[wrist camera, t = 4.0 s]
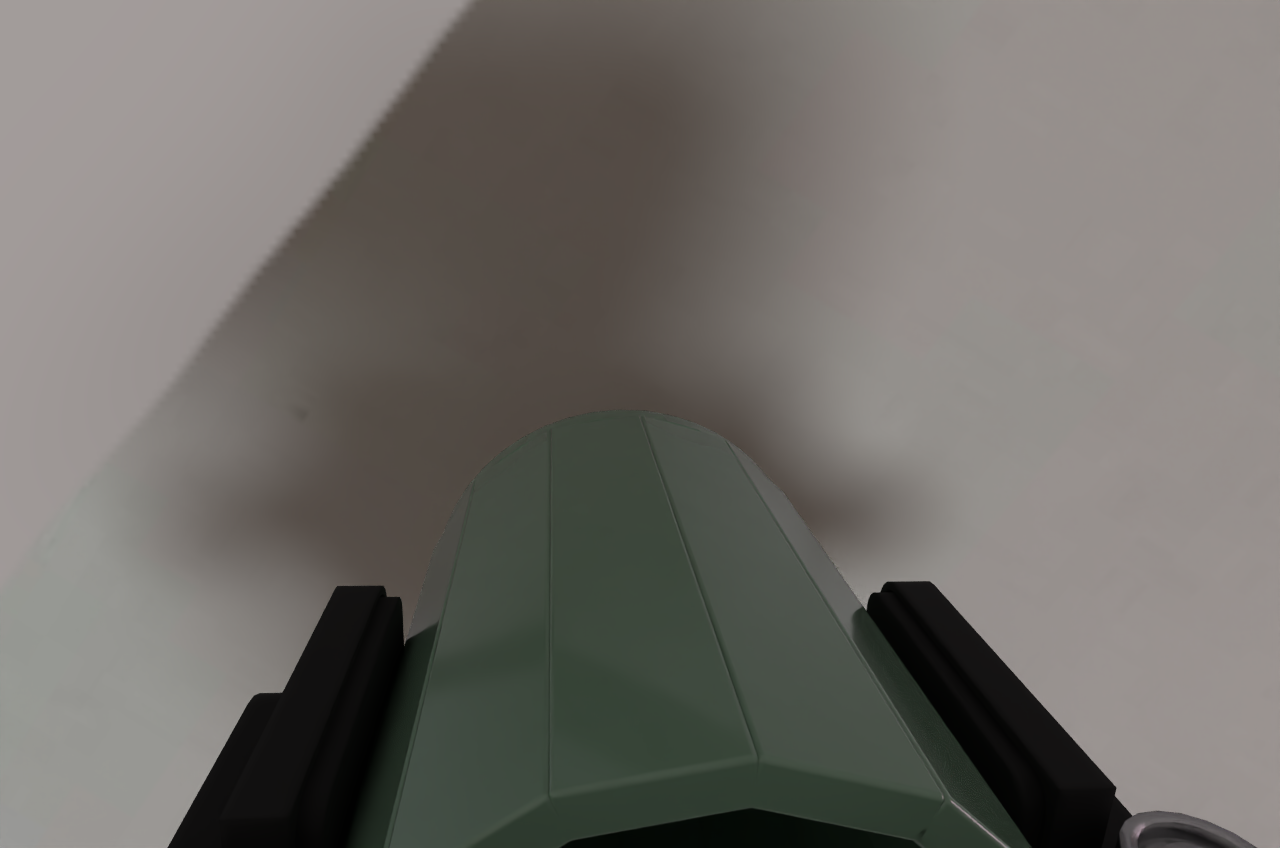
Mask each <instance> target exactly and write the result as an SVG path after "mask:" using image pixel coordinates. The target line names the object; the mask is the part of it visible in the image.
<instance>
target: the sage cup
mask: <svg viewBox="0 0 1280 848" xmlns="http://www.w3.org/2000/svg"><path fill="white" fill-rule="evenodd" d="M343 848H1032V847H1031V846H1030V845H1029V843H1028V842H1027V840H1026V839H1025V837H1024V836H1023V835H1022V833H1021V832H1020V830H1019V829H1018V827H1017V826H1016V825H1015V823H1014V822H1013V820H1012V819H1011V817H1010V816H1009V815H1008V813H1007V812H1006V810H1005V809H1004V807H1003V806H1002V804H1001V803H1000V802H999V800H998V799H997V797H996V796H995V794H994V793H993V792H992V790H991V789H990V787H989V786H988V784H987V783H986V782H985V780H984V779H983V777H982V776H981V774H980V773H979V772H978V770H977V769H976V767H975V766H974V764H973V763H972V762H971V760H970V759H969V757H968V756H967V754H966V753H965V751H964V750H963V749H962V747H961V746H960V744H959V743H958V741H957V740H956V739H955V737H954V736H953V734H952V733H951V731H950V730H949V729H948V727H947V726H946V724H945V723H944V721H943V720H942V719H941V717H940V716H939V714H938V713H937V711H936V710H935V709H934V707H933V706H932V704H931V703H930V701H929V700H928V698H927V697H926V696H925V694H924V693H923V691H922V690H921V688H920V687H919V686H918V684H917V683H916V681H915V680H914V678H913V677H912V676H911V674H910V673H909V671H908V670H907V668H906V667H905V666H904V664H903V663H902V661H901V660H900V658H899V657H898V656H897V654H896V653H895V651H894V650H893V648H892V647H891V645H890V644H889V643H888V641H887V640H886V638H885V637H884V635H883V634H882V633H881V631H880V630H879V628H878V627H877V625H876V624H875V623H874V621H873V620H872V618H871V617H870V615H869V614H868V613H867V611H866V610H865V608H864V607H863V605H862V604H861V603H860V601H859V600H858V598H857V597H856V595H855V594H854V593H853V591H852V590H851V588H850V587H849V585H848V584H847V582H846V581H845V580H844V578H843V577H842V575H841V574H840V572H839V571H838V570H837V568H836V567H835V565H834V564H833V562H832V561H831V560H830V558H829V557H828V555H827V554H826V552H825V551H824V550H823V548H822V547H821V545H820V544H819V542H818V541H817V540H816V538H815V537H814V535H813V534H812V532H811V531H810V529H809V528H808V527H807V525H806V524H805V522H804V521H803V519H802V518H801V517H800V515H799V514H798V512H797V511H796V509H795V508H794V507H793V505H792V504H791V502H790V501H789V499H788V498H787V497H786V495H785V494H784V492H783V491H781V490H780V489H779V488H778V487H777V486H776V485H775V484H774V483H773V482H772V481H771V480H770V479H769V478H768V477H767V475H766V474H765V473H764V472H763V471H762V470H761V469H760V468H759V467H758V465H757V464H756V463H755V462H754V461H753V460H752V459H751V458H750V457H749V456H748V455H746V454H745V453H744V452H743V451H742V450H740V449H739V448H738V447H737V446H736V445H734V444H733V443H731V442H730V441H728V440H727V439H725V438H723V437H722V436H720V435H719V434H717V433H715V432H714V431H712V430H709V429H707V428H705V427H703V426H701V425H698V424H696V423H694V422H691V421H688V420H685V419H681V418H678V417H675V416H671V415H668V414H662V413H655V412H649V411H640V410H611V411H600V412H592V413H587V414H583V415H578V416H574V417H569V418H566V419H563V420H561V421H558V422H555V423H552V424H549V425H547V426H544V427H542V428H540V429H538V430H536V431H534V432H532V433H530V434H528V435H526V436H524V437H522V438H521V439H520V440H518V441H517V442H515V443H514V444H512V445H511V446H509V447H508V448H506V449H505V450H503V451H502V452H501V453H500V454H499V455H497V456H496V457H495V458H494V459H493V460H492V461H491V462H490V463H488V464H487V465H486V466H485V467H484V468H483V469H482V470H481V471H480V473H479V474H478V475H477V476H476V477H475V478H474V480H473V481H472V482H471V483H470V484H469V485H468V487H467V488H466V490H465V491H464V493H463V494H462V496H461V498H460V499H459V501H458V502H457V504H456V505H455V507H454V509H453V512H452V514H451V516H450V518H449V520H448V522H447V525H446V527H445V530H444V533H443V534H442V536H441V538H440V539H439V541H438V543H437V545H436V546H435V548H434V550H433V554H432V557H431V560H430V564H429V567H428V570H427V573H426V577H425V580H424V583H423V587H422V590H421V593H420V596H419V600H418V603H417V606H416V610H415V613H414V616H413V620H412V623H411V626H410V629H409V633H408V636H407V639H406V643H405V646H404V649H403V653H402V656H401V659H400V662H399V666H398V669H397V672H396V676H395V679H394V682H393V686H392V689H391V692H390V695H389V699H388V702H387V705H386V709H385V712H384V715H383V718H382V722H381V725H380V728H379V732H378V735H377V738H376V742H375V745H374V748H373V751H372V755H371V758H370V761H369V765H368V768H367V771H366V775H365V778H364V781H363V784H362V788H361V791H360V794H359V798H358V801H357V804H356V808H355V811H354V814H353V817H352V821H351V824H350V827H349V831H348V834H347V837H346V840H345V844H344V847H343Z"/></svg>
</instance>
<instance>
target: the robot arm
mask: <svg viewBox="0 0 1280 848" xmlns="http://www.w3.org/2000/svg"><path fill="white" fill-rule="evenodd" d="M867 613H868V614H869V615H870V617H871V618H872V620H873V621H874V623H875V624H876V625H877V627H878V628H879V630H880V631H881V633H882V634H883V635H884V637H885V638H886V640H887V641H888V643H889V644H890V645H891V647H892V648H893V650H894V651H895V653H896V654H897V656H898V657H899V658H900V660H901V661H902V663H903V664H904V666H905V667H906V668H907V670H908V671H909V673H910V674H911V676H912V677H913V678H914V680H915V681H916V683H917V684H918V686H919V687H920V688H921V690H922V691H923V693H924V694H925V696H926V697H927V698H928V700H929V701H930V703H931V704H932V706H933V707H934V709H935V710H936V711H937V713H938V714H939V716H940V717H941V719H942V720H943V721H944V723H945V724H946V726H947V727H948V729H949V730H950V731H951V733H952V734H953V736H954V737H955V739H956V740H957V741H958V743H959V744H960V746H961V747H962V749H963V750H964V751H965V753H966V754H967V756H968V757H969V759H970V760H971V762H972V763H973V764H974V766H975V767H976V769H977V770H978V772H979V773H980V774H981V776H982V777H983V779H984V780H985V782H986V783H987V784H988V786H989V787H990V789H991V790H992V792H993V793H994V794H995V796H996V797H997V799H998V800H999V802H1000V803H1001V804H1002V806H1003V807H1004V809H1005V810H1006V812H1007V813H1008V815H1009V816H1010V817H1011V819H1012V820H1013V822H1014V823H1015V825H1016V826H1017V827H1018V829H1019V830H1020V832H1021V833H1022V835H1023V836H1024V837H1025V839H1026V840H1027V842H1028V843H1029V845H1030V846H1031V847H1032V848H1257V847H1255V846H1253V845H1252V844H1250V843H1249V842H1247V841H1246V840H1244V839H1242V838H1241V837H1239V836H1238V835H1236V834H1234V833H1233V832H1230V831H1228V830H1226V829H1224V828H1222V827H1219V826H1217V825H1215V824H1213V823H1211V822H1208V821H1206V820H1202V819H1199V818H1195V817H1192V816H1188V815H1185V814H1182V813H1174V812H1165V811H1151V812H1144V813H1138V814H1136V815H1134V816H1132V815H1131V814H1130V813H1129V811H1128V810H1127V809H1126V808H1125V807H1124V806H1123V805H1122V803H1121V802H1120V801H1119V800H1118V799H1117V798H1116V797H1115V792H1116V787H1115V786H1114V784H1113V783H1112V782H1111V781H1110V780H1109V779H1108V778H1107V777H1106V776H1105V774H1104V773H1103V772H1102V771H1101V770H1100V769H1099V768H1098V767H1097V766H1096V764H1095V763H1094V762H1093V761H1092V760H1091V759H1090V758H1089V757H1088V756H1087V754H1086V753H1085V752H1084V751H1083V750H1082V749H1081V748H1080V747H1079V746H1078V744H1077V743H1076V742H1075V741H1074V740H1073V739H1072V738H1071V737H1070V735H1069V734H1068V733H1067V732H1066V731H1065V730H1064V729H1063V728H1062V727H1061V725H1060V724H1059V723H1058V722H1057V721H1056V720H1055V719H1054V718H1053V717H1052V715H1051V714H1050V713H1049V712H1048V711H1047V710H1046V709H1045V708H1044V707H1043V705H1042V704H1041V703H1040V702H1039V701H1038V700H1037V699H1036V698H1035V697H1034V695H1033V694H1032V693H1031V692H1030V691H1029V690H1028V689H1027V688H1026V687H1025V685H1024V684H1023V683H1022V682H1021V681H1020V680H1019V679H1018V678H1017V677H1016V675H1015V674H1014V673H1013V672H1012V671H1011V670H1010V669H1009V668H1008V667H1007V665H1006V664H1005V663H1004V662H1003V661H1002V660H1001V659H1000V658H999V656H998V655H997V654H996V653H995V652H994V651H993V650H992V649H991V648H990V646H989V645H988V644H987V643H986V642H985V641H984V640H983V639H982V638H981V636H980V635H979V634H978V633H977V632H976V631H975V630H974V629H973V628H972V626H971V625H970V624H969V623H968V622H967V621H966V620H965V619H964V618H963V616H962V615H961V614H960V613H959V612H958V611H957V610H956V609H955V608H954V606H953V605H952V604H951V603H950V602H949V601H948V600H947V599H946V598H945V596H944V595H943V594H942V593H941V592H940V591H939V590H938V589H937V587H936V586H935V585H934V584H932V583H931V582H930V581H914V582H886V583H885V584H884V585H883V587H882V590H881V593H872V594H871V595H870V597H869V600H868V605H867ZM403 649H404V635H403V611H402V601H401V598H400V597H387V595H386V590H385V588H384V586H337V587H336V589H335V590H334V592H333V594H332V596H331V598H330V600H329V602H328V604H327V606H326V608H325V610H324V612H323V614H322V616H321V618H320V620H319V622H318V624H317V626H316V628H315V630H314V632H313V634H312V636H311V638H310V640H309V642H308V644H307V646H306V648H305V650H304V651H303V653H302V655H301V657H300V659H299V661H298V663H297V665H296V667H295V669H294V671H293V673H292V675H291V677H290V679H289V681H288V683H287V685H286V687H285V689H284V691H283V693H259V694H257V695H255V696H253V698H252V699H251V700H250V702H249V703H248V705H247V706H246V708H245V710H244V712H243V714H242V715H241V717H240V719H239V721H238V723H237V724H236V726H235V728H234V730H233V732H232V733H231V735H230V737H229V739H228V741H227V742H226V744H225V746H224V748H223V749H222V751H221V753H220V755H219V757H218V758H217V760H216V762H215V764H214V766H213V767H212V769H211V771H210V773H209V775H208V776H207V778H206V780H205V782H204V783H203V785H202V787H201V789H200V791H199V792H198V794H197V796H196V798H195V800H194V801H193V803H192V805H191V807H190V809H189V810H188V812H187V814H186V816H185V818H184V819H183V821H182V823H181V825H180V826H179V828H178V830H177V832H176V834H175V835H174V837H173V839H172V841H171V843H170V844H169V846H168V848H343V847H344V844H345V840H346V837H347V834H348V831H349V827H350V824H351V821H352V817H353V814H354V811H355V808H356V804H357V801H358V798H359V794H360V791H361V788H362V784H363V781H364V778H365V775H366V771H367V768H368V765H369V761H370V758H371V755H372V751H373V748H374V745H375V742H376V738H377V735H378V732H379V728H380V725H381V722H382V718H383V715H384V712H385V709H386V705H387V702H388V699H389V695H390V692H391V689H392V686H393V682H394V679H395V676H396V672H397V669H398V666H399V662H400V659H401V656H402V653H403Z"/></svg>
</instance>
